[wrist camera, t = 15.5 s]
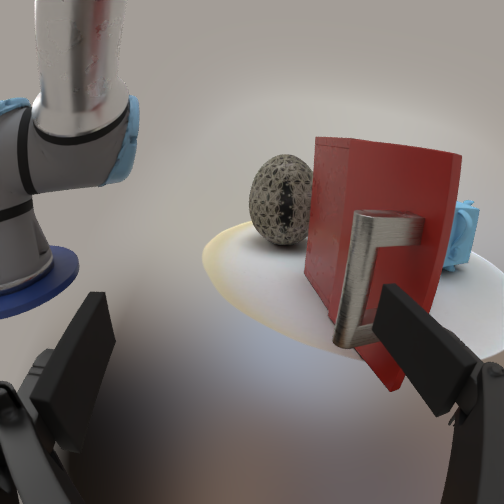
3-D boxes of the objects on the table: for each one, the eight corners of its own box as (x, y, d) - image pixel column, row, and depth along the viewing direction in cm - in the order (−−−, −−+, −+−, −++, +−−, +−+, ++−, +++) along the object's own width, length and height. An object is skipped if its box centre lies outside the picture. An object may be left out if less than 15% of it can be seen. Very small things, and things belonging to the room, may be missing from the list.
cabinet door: (335, 409, 19) (391, 138, 13) (283, 321, 30) (298, 133, 24) (399, 389, 20) (462, 155, 14) (335, 314, 31) (358, 140, 25)
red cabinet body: (415, 303, 33) (444, 155, 27) (329, 312, 32) (350, 138, 25) (379, 270, 43) (396, 147, 36) (303, 273, 41) (315, 136, 35)
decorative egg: (246, 254, 47) (249, 154, 42) (248, 231, 58) (251, 151, 52) (322, 257, 47) (331, 159, 41) (310, 234, 58) (316, 155, 52)
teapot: (434, 287, 37) (454, 197, 33) (373, 249, 51) (383, 176, 47) (490, 273, 42) (506, 204, 38) (435, 244, 56) (445, 184, 52)
